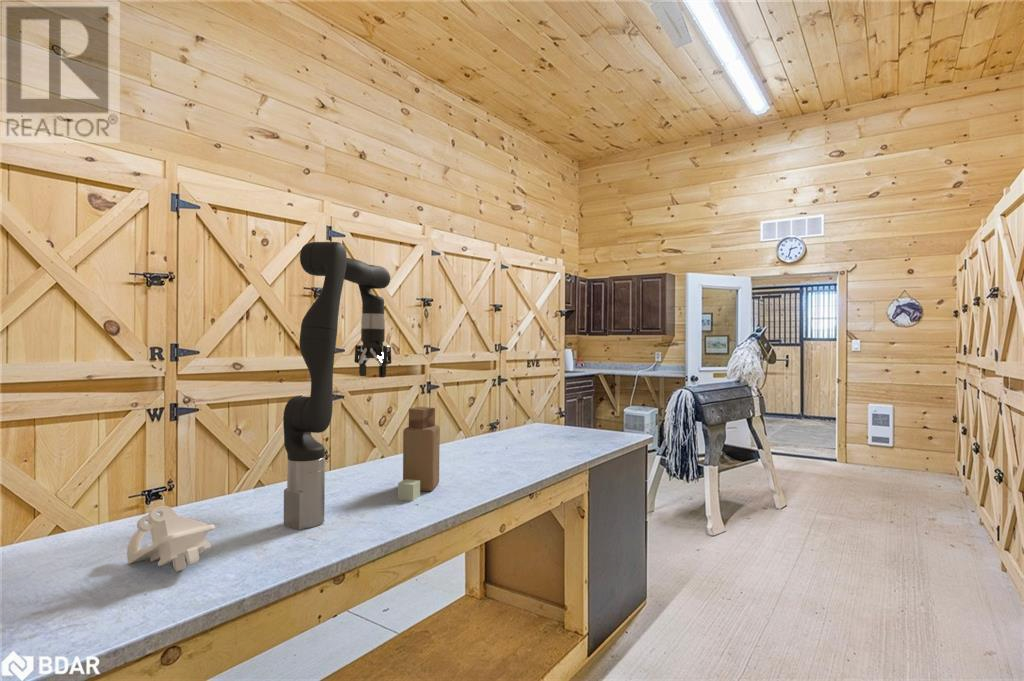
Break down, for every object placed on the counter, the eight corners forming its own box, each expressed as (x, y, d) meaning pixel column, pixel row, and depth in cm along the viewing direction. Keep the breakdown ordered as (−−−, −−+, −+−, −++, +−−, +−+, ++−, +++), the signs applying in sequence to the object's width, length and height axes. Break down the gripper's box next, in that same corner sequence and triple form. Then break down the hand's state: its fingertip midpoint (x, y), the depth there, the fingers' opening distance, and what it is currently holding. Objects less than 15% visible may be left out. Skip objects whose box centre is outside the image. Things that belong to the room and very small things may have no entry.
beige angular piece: (128, 592, 113) (117, 530, 116) (186, 572, 122) (174, 516, 125) (166, 570, 102) (153, 503, 106) (226, 551, 112) (212, 490, 115)
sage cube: (413, 501, 161) (413, 484, 161) (397, 499, 162) (398, 483, 162) (420, 496, 166) (420, 480, 166) (405, 495, 167) (405, 479, 167)
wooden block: (439, 483, 180) (440, 424, 180) (432, 492, 170) (433, 429, 170) (410, 482, 181) (411, 423, 181) (401, 491, 171) (402, 428, 171)
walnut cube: (423, 428, 171) (423, 409, 171) (408, 426, 174) (408, 408, 174) (434, 426, 176) (435, 407, 176) (420, 424, 179) (420, 406, 179)
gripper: (349, 327, 177) (348, 376, 177) (381, 327, 170) (380, 378, 170) (365, 328, 184) (365, 375, 184) (397, 328, 177) (396, 377, 177)
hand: (372, 376), depth 177 cm, fingers open, 8 cm apart
